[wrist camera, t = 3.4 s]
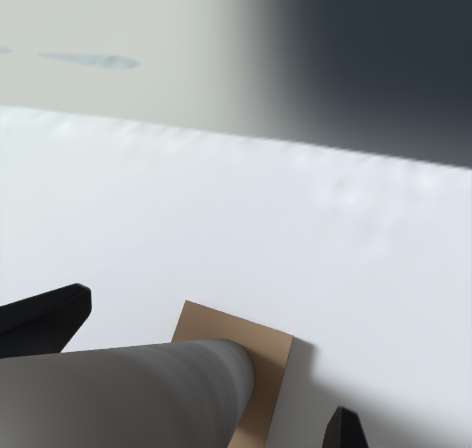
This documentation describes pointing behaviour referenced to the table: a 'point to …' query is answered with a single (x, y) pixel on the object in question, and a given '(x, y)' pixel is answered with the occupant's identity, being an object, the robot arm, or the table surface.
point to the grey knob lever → (150, 390)
